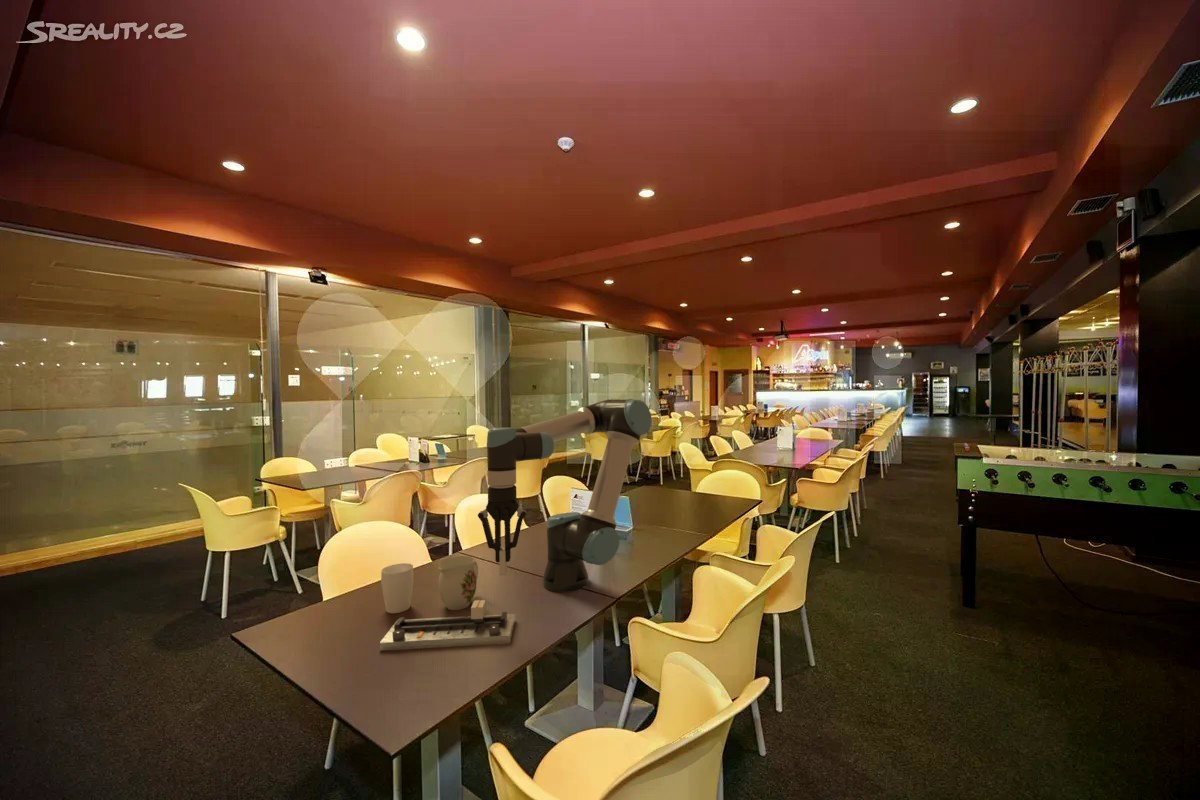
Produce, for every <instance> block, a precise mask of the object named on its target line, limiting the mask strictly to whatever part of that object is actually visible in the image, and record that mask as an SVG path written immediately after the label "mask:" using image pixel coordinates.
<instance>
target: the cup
mask: <svg viewBox="0 0 1200 800" xmlns="http://www.w3.org/2000/svg"><path fill="white" fill-rule="evenodd" d="M414 577H415V576H414V565H413V564H411V563H406V562H405V563H396V564H392V565H388V566H385V567H384V568H382V569H381V575H380V578H381V579H380V583H381V589H382V594H383V595H382V596H383V601H384V606H385V612H387V613H389V614H399V613H402V612H405V611H407V610H409V609H410V608H411V603H412V595H413V588H414V587H413V586H414V585H413V584H414V579H415V578H414Z"/></svg>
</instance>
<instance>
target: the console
mask: <svg viewBox="0 0 1200 800" xmlns="http://www.w3.org/2000/svg"><path fill="white" fill-rule="evenodd" d="M515 624H516V614H515V613H508V612H507V611H502V612H501V614H486V615H485V614H484V622H480V623H474V620H473V619H471V615H469V616H468V615H467V616H449V617H448V616H447V617H428V618H410V619H407V618H405V616H404V617H403V616H401V617H399V618H398V619H397V620H396V621H395V622H394V623H393V625H392V626H391V627H390V629H389V630H388V632H387V633H386V634H385V635H384V637H383V638H382V639H381V640H380V642H379V652H382V651H399V650H402V651H403V650H417V649H418V650H419V649H433V648H435V649H436V648H452V647H453V648H454V647H469V646H470V647H471V646H486V645H488V646H489V645H507V644H511V641H512V640H511V639H512V637H513V632H514V628H515Z"/></svg>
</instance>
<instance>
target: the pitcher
mask: <svg viewBox="0 0 1200 800" xmlns="http://www.w3.org/2000/svg"><path fill="white" fill-rule="evenodd" d="M438 563H439V565H438V567H437V569H438V571H440V574H439V577H438V592H439V596H440V600H441V602H442V604H443V605H444V606H445V607H446V609H448V610H450V611H461V610H464V609H466V608H467V607H469V606H470V604H471V603H472V601H474V597H475V593H476V590H477V580H478V575H479V566H478V563H477V561H476V560H475V558H474V557H471V556H469V555H468V556H466V555H465V556H464V555H460V556H452V557H448V558H445V559H443V560H441V561H439V562H438Z"/></svg>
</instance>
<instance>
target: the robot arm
mask: <svg viewBox="0 0 1200 800" xmlns="http://www.w3.org/2000/svg"><path fill="white" fill-rule="evenodd" d="M652 421H653V420H652V413H651V411H650V408H649V406H648V405H647V404H646V403H645V402H644V401H643V400H640V399H633V398H627V399H607V400H602V401H598V402H596V403H593V404H589V405H587V406H582V407H580V408H578V409H577V411H576V412H572V413H568V414H566V415H561V416H558V417H554V418H551V419H547V420H544V421H540V422H537V423H533V424H529V425H526V426H522V427H518V428H514V427H491V428H490V429H488V431H487V436H486V447H487V448H486V452H487V453H486V454H487V458H486V459H487V471H486V473H487V485H488V488H487V504H486V506H485V508H484V509H483V510H480V511H479V512H478V514H477V517H478V519H479V520H480V521H481V524H482V527H483V531H484V532H483V533H484V535H485V540H486V543H487V547H488V549H493V550H494V553H495V558H494V559H495V563H499V576H501V577H502V576H506V575H507V572H508V570H507V569H508V568H507V565H508V562H510V561H511V558H512V557H511V555H512V554H511V553H512V552H511V549H513V548H516V547H517V545H518V542H519V537H520V533H521V528H522V525H523V520H524V519H525V516H526V515H527V510H526V509H522V508H520V506H519V503H518V501H517V500H518V499H517V498H518V497H517V486H516V483H517V462H523V461H535V460H540V461H541V460H543V459H548V458H550V457H551V456H552V455H553V454H554V450H555V443H556V442H560V441H562V440H565V439H570V438H572V437H575V436H578V435H582V434H583V435H591V434H594V433H604V434H605V436H606V437H607V443H606V446H605V449H604V452H603V457H602V460H601V463H600V466H599V470H598V473H597V476H596V480H595V483H594V486H593V490H592V493H591V497H590V500H589V503H588V504H589V505H588V507H587V510H586V511H584V512H573V511H571V512H562V513H557V514H553V515H550V516H549V517H548V518H547V521H546V522H547V523H546V537H547V539H546V541H547V542H546V543H547V544H546V545H547V561H546V562H547V563H546V567H545V570H544V573H543V576H542V577H543V578H542V585H543V587H544V588H545V589H546V590H549V591H552V592H558V593H569V592H570V593H571V592H575V591H578V590H579V591H580V590H582V589H584V588H586V587H587V586H588V584H589V573H588V570H587V567H586V565H585V562H586V563H587V564H590V565H596V566H604V565H605V564H606V565H607V563H608V562H609V561H611V560H612V559H613V558H614V557H615V556H616V554H617V552H618V550H619V548H620V538H619V536H620V535H619V533H618V532H617V531H616V528H617V522H616V520H615V518H614V517H615V513H616V510H617V506H618V503H619V498H620V496H621V491H622V488H623V484H624V480H625V477H626V473H627V469H628V465H629V461H630V459H631V455H632V451H633V448H634V446H636V445H638V444H640V439H641V436H643V435H646V434H647V433H648V432H649V431H650V429H651V427H652ZM516 512H517V514H516ZM515 514H516V517H518V518H517V521H516V526H515V529H514V534H513V538H512V541H511V519H513V517H514V516H515ZM489 516H490V517H491V518H492V519H493V520H494V537H493V532H492V529H491V526H490V521H489V518H488V517H489ZM501 521H504V523H503V524H504V547H501V546H502V523H501Z"/></svg>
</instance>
